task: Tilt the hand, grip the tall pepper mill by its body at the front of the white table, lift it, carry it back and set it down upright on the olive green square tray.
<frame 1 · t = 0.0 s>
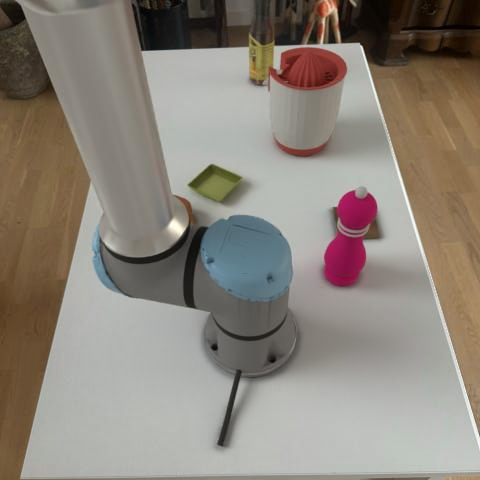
hand: (241, 10, 79), 28 cm above the table, tool pointing down, fingers open, 13 cm apart
wooden coaster: (354, 224, 88), on the table
sauce bottle: (261, 81, 117), on the table
citrus juicer: (297, 140, 103), on the table
burger: (171, 224, 90), on the table
olive green square tray: (216, 189, 95), on the table
pepper mill: (340, 274, 82), on the table
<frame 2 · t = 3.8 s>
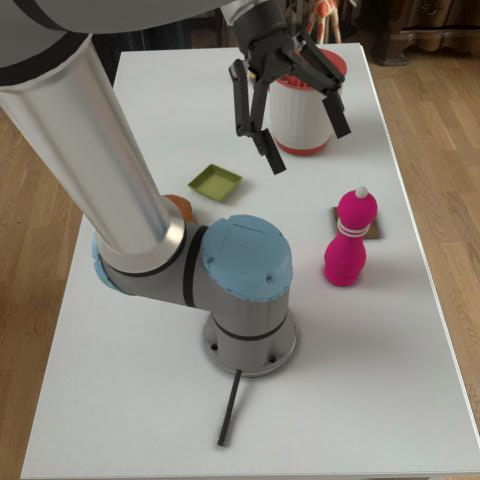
hand: (313, 153, 69), 20 cm above the table, tool tilted 45°, fingers open, 13 cm apart
nothing on the table moved.
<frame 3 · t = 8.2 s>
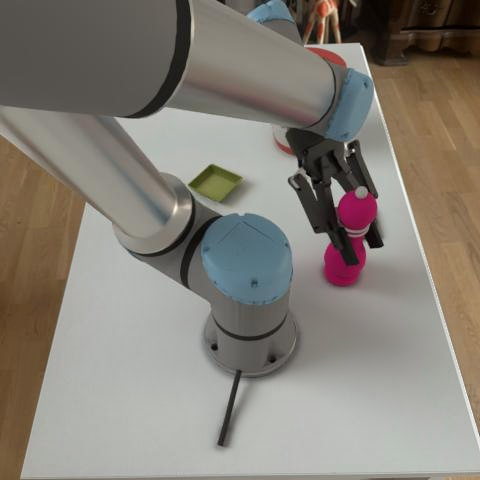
hand: (365, 255, 73), 8 cm above the table, tool tilted 45°, fingers closed on pepper mill, 5 cm apart
pepper mill: (340, 274, 82), on the table, touching gripper
everything else where it was.
when the fingers open (10 cm above the table, at t = 18.8 s): pepper mill stays where it is, resting on olive green square tray.
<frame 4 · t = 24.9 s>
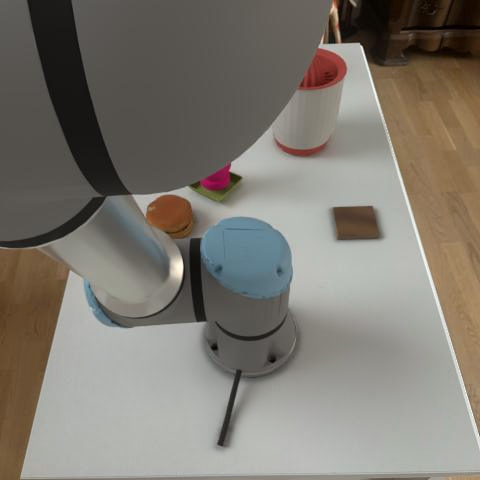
hand: (140, 46, 64), 33 cm above the table, tool pointing down, fingers open, 13 cm apart
olive green square tray: (216, 189, 95), on the table, touching pepper mill
pepper mill: (215, 181, 93), point 2 cm above the table, touching olive green square tray
everything else where it was.
at the end: pepper mill 0.0 cm off-centre on the olive green square tray, point 2.1 cm above the olive green square tray's base; pepper mill tilted 0°; the gripper is holding nothing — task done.
